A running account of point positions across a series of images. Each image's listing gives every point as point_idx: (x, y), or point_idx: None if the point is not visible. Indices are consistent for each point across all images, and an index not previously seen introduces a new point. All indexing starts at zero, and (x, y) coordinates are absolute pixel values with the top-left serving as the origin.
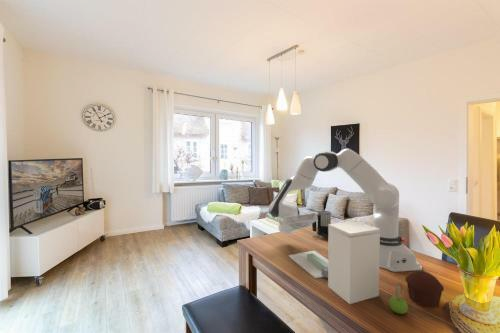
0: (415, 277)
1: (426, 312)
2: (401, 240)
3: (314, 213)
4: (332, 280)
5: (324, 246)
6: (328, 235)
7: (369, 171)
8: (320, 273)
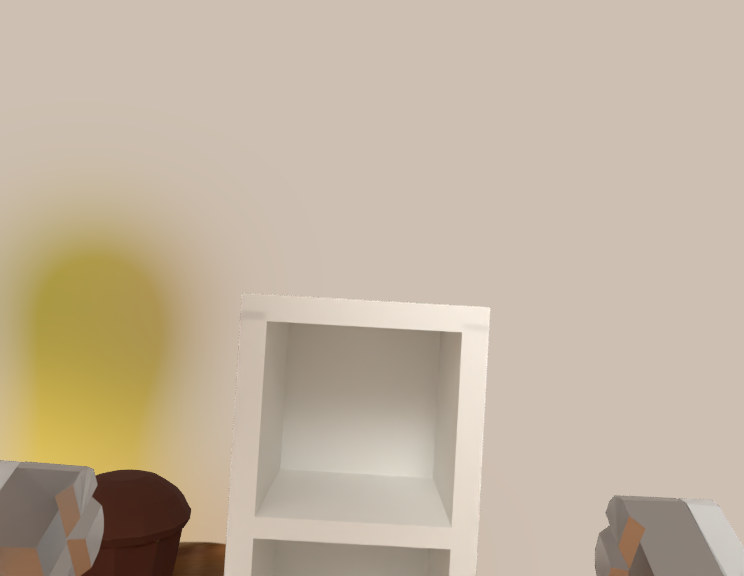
0: (162, 491)
1: (199, 572)
2: None
3: (20, 466)
4: None
5: None
6: (485, 388)
7: None
8: None
